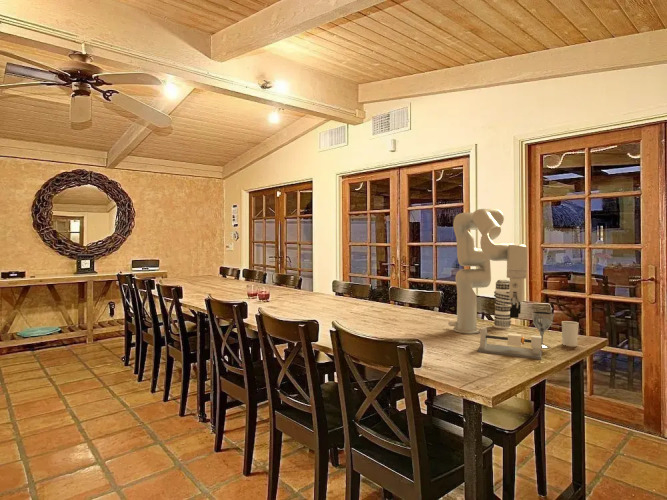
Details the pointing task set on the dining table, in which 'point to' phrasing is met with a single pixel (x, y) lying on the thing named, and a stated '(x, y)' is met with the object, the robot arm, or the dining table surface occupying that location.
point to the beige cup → (569, 333)
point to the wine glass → (542, 323)
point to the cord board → (509, 350)
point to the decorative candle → (502, 305)
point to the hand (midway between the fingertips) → (515, 315)
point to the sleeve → (514, 339)
